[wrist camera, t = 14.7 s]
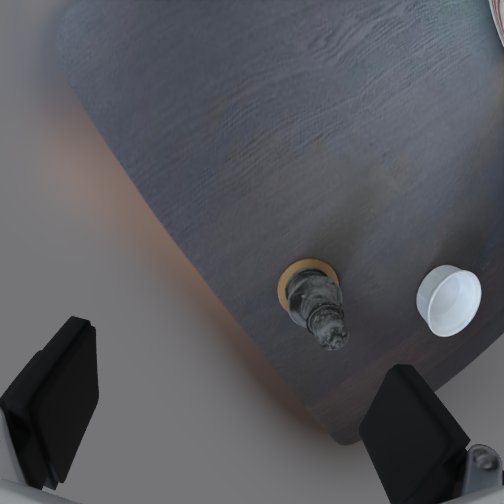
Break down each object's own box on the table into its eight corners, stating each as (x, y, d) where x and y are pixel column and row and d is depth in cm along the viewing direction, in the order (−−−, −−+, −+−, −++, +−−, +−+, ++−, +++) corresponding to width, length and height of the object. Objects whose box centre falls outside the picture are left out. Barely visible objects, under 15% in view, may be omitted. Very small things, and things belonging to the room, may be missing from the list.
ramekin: (413, 330, 39) (428, 346, 35) (409, 271, 37) (427, 284, 32) (462, 309, 39) (479, 322, 35) (462, 252, 36) (482, 262, 32)
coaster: (271, 311, 37) (271, 313, 36) (285, 253, 35) (285, 254, 35) (328, 319, 38) (329, 321, 37) (344, 263, 36) (346, 265, 35)
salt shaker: (340, 299, 36) (381, 355, 25) (294, 321, 37) (318, 386, 25) (322, 255, 35) (362, 300, 23) (273, 279, 35) (291, 335, 24)
